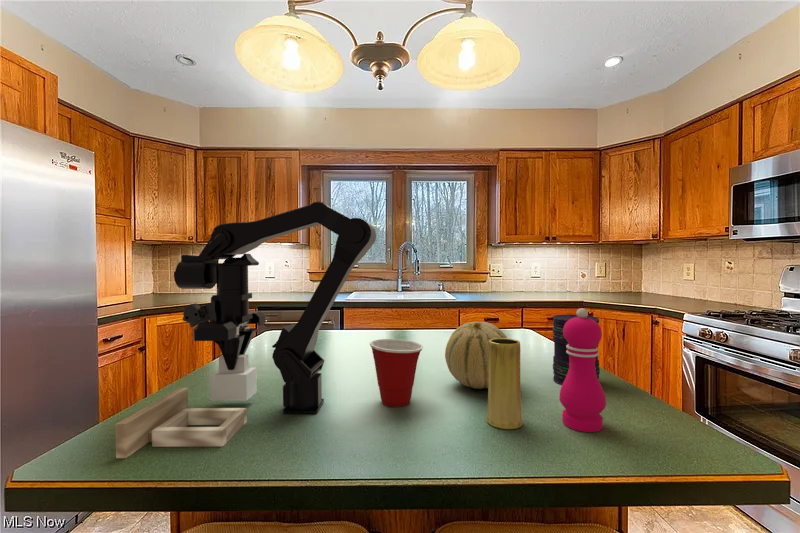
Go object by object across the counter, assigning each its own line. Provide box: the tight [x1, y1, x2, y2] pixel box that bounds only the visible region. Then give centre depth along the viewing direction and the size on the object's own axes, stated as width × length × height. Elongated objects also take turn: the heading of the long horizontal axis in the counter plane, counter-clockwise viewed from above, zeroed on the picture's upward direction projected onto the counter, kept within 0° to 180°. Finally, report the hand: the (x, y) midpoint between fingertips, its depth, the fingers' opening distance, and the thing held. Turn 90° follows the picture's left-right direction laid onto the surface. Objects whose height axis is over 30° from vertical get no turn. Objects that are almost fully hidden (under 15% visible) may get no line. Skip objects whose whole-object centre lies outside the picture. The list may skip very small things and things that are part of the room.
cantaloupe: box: [444, 321, 508, 390], centre depth 86 cm, size 15×15×15 cm
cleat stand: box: [114, 387, 248, 459], centre depth 64 cm, size 14×16×5 cm
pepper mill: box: [558, 307, 607, 433], centre depth 66 cm, size 7×7×20 cm
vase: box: [486, 337, 524, 430], centre depth 67 cm, size 6×6×14 cm
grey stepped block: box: [209, 354, 258, 402], centre depth 76 cm, size 7×5×8 cm
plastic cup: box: [369, 338, 424, 408], centre depth 77 cm, size 11×11×12 cm
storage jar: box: [552, 314, 601, 386], centre depth 89 cm, size 10×10×15 cm
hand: (233, 368), depth 76 cm, fingers closed on grey stepped block
